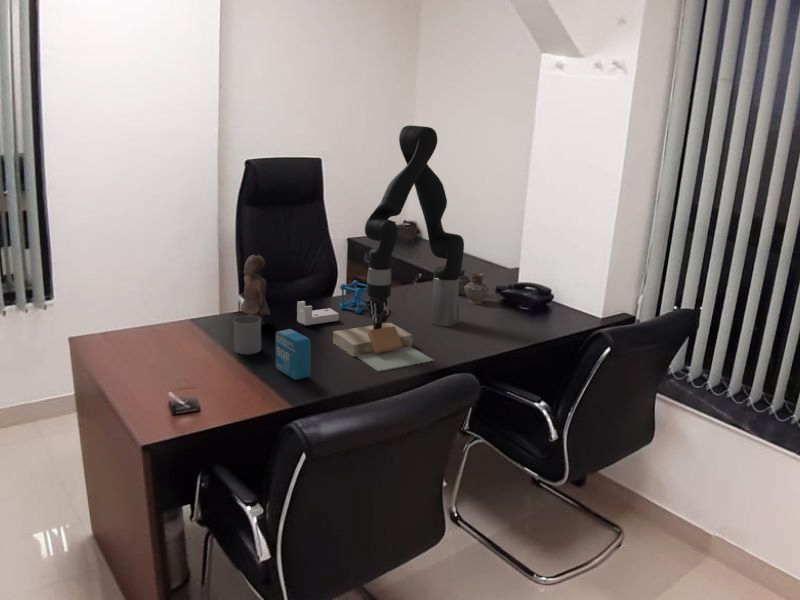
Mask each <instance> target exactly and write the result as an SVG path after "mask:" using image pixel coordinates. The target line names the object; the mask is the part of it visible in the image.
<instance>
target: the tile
mask: <svg viewBox="0 0 800 600" xmlns="http://www.w3.org/2000/svg"><path fill="white" fill-rule="evenodd" d="M368 336H369V339H370V341H371V344H372V346H373V349H374V352H375V353H381V352H386V351H391V350H397V349H400V348H401V347H402V343H401V340H400V338H399V335H398V333H397V331H396V328H395V326H394V327H388V328H382V329H375V330H370V332H369V333H368Z"/></svg>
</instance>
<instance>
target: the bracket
mask: <svg viewBox="0 0 800 600" xmlns="http://www.w3.org/2000/svg"><path fill="white" fill-rule="evenodd" d="M296 305H297V306H296V313H297V314H296V315H297V316H296V322H297V321H298V322H297V323H298V324H300V323H301V324H300V325H304V326H310V325H317V324H324V323H331V322H338V321H339V317H340V315H339V314H340V313H338V312H337V311H335V310H333V308H330V307H328V308H321V309H315V310H313V306H312V305H306V301H304V300H301V301H297V303H296Z"/></svg>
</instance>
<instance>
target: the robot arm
mask: <svg viewBox="0 0 800 600" xmlns="http://www.w3.org/2000/svg"><path fill="white" fill-rule="evenodd" d="M398 141H399V147H400V151H401V154H402V156H403V158H404V161H405V162H406V166H405V167H404V168H403V169H402V170H401V171H400V172H399V173H398V174H396V176H395V177H394V178H393V179H391V181H390V182H389V184H388V185H387V188H386V190H385V191H384V194H383V197H382V198H381V201H380V203H379V204H378V205H377V207H376V208H375V209H374V211H373V212H372V213H371V214H370V216H369V217H368V218H367V220H366V221H365V224H364V225H365V226H364V234H365V235H366V238H368V239H369V240H372V241H377V242H380V243H379V246H378V247H374V248H372V249H370V250H369V254H368V269H367V277H366V278H367V279H366V280H367V281H366V285H367V291H366V295H367V296H368V297H369V300H365V301H366V306H365V307H367V309H366V310H367V312H368V316H369V318H370V319H371V320H372V321H371V322H373V325H374V326H373V330H375V329H382V324H383V323H387V321H388V319H389V318H390V315H391V314H392V310H391V309H388V300H387V299H388V298H389V297H390V296H391V292H392V255H393V251H394V248H395V245H396V242H397V238H398V235H399V229H398V226H397V224H396V222H395V221H393V220H391V219H390V218H392V217H397V216H399V215H400V214H402V213H401V212H402V211H403V208H404V207H405V204H406V201H407V199H408V196H409V195H410V193H411V191H412V189H413V187H414V188H415V192H416V195H417V199H418V201H419V206H420V208H421V211H422V214H423V219H424V222H425V225H426V231H427V237H428V243H429V248H430V251H431V252H432V255H433V256H434V257H437V258H441V259H445V260H446V262H445V265H443V266H439V267H436V268H434V270H433V282H432V300H431V313H430V314H431V315H430V322H431V324H432V325H435V326H438V327H453V326H456V325H458V324H459V322H460V321H459V319H460V307H461V306H460V304H461V298H460V297H459V295H458V289H459V276H460V272H461V268H463V259H464V252H465V251H464V250H465V240H464V238H463V236H462V235H459V234H456V233H451V232H447V231H445V229H444V227H443V224H442V219H443V216H444V213H445V211H446V209H447V206H448V205H447V203H448V199H447V195H446V191H445V186H444V185H443V182H442V181H441V179H440V178H439V177H438V175H437V174H436V173H435V172H434V171H433V169H432V168H431V167H430V166H429V165H428V163H429V160H430V159H431V158H432V156H433V154H434V153H435V150H436V148H437V145H438V134H437V131H436V130H435V129H434V128H432V127H429V126H424V125H423V126H421V125H405V126H403V128H401V130H400V132H399V137H398Z"/></svg>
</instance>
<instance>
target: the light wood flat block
mask: <svg viewBox="0 0 800 600" xmlns="http://www.w3.org/2000/svg"><path fill="white" fill-rule="evenodd" d="M373 326H374V324H373V325H368V326H367V325H365V326H360V327H355V328H354V327H353V328H347V329H340V330H333V332H332V343H333V345H335V344H336V346H337V347H338V346H339V347H338V348H340V349H341V350H342V349H343V350H342V351H343V352H345V351H346V352H345V353H347V355H350V356H351V357H352V356H353V357H355V356H356V357H357V356H358V355H364V354H370V353H375V352H374V349H373V346H372V344H371V341H370V339H369V336H368V333H369V332H370V330H373ZM394 326H395V328H396V331H397V333H398V335H399V338H400V340H401V343H402V347H401V348H404V347H409V346H412V347H413V339H414V338H413V336H414V334H411V332H408V331H407V330H404V329H403V328H401V327H400V326H397V325H396V324H394V323H392V322H384V323H382V328H388V327H394Z"/></svg>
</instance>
